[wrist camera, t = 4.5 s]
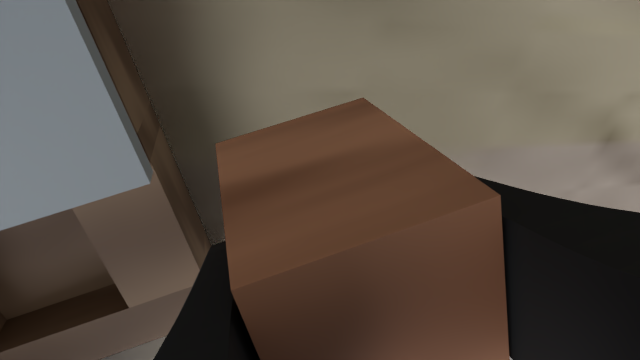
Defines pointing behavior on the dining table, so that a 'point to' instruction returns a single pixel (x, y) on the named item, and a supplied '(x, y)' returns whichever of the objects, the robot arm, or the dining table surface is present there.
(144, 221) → the brown tray
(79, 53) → the lid
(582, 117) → the dining table surface
